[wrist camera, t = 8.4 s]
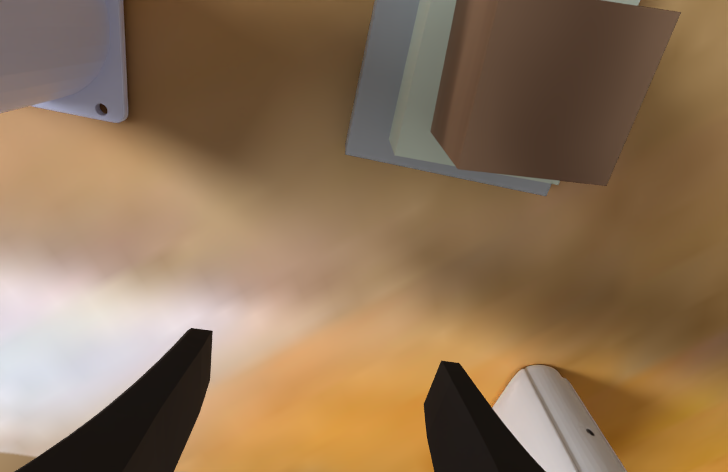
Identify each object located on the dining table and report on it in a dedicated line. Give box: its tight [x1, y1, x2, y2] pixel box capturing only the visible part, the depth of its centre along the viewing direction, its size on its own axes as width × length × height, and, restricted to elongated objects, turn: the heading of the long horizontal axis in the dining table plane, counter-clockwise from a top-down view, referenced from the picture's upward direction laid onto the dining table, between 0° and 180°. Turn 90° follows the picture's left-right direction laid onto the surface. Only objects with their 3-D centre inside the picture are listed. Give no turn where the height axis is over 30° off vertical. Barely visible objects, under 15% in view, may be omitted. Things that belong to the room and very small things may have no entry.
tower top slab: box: [389, 0, 640, 185], centre depth 16 cm, size 7×7×2 cm
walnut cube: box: [430, 0, 681, 186], centre depth 13 cm, size 4×4×4 cm
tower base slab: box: [345, 0, 551, 196], centre depth 18 cm, size 10×10×2 cm
